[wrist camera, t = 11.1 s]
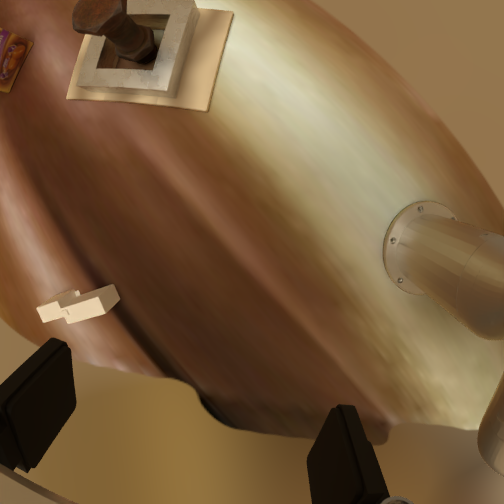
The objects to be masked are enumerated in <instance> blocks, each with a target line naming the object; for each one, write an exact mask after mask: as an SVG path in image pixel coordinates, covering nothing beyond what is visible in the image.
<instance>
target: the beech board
mask: <svg viewBox="0 0 504 504" xmlns="http://www.w3.org/2000/svg"><path fill="white" fill-rule="evenodd" d="M198 11H199V13H200V16H199V19H198V22H197V25H196V28H195V32H194V35H193V38H192V41H191V45H190V48H189V52H188V55H187V59H186V62H185V66H184V69H183V73H182V77H181V80H180V84H179V88H178V92H177V96H176V99H175V98H166V97H157V96H146V95H134V94H120V93H100V92H90V91H87V90H85V89H82V88H80V87H77V86H76V84H77V81H78V77H79V74H80V70H81V67H82V63H83V60H84V57H85V54H86V51H87V48H88V45H89V42H90V39H91V36H92V35H89V34H85V37H84V40H83V43H82V46H81V49H80V52H79V55H78V58H77V61H76V64H75V68H74V71H73V75H72V78H71V82H70V86H69V89H68V93H67V97H66V99H68V100H88V101H108V102H122V103H135V104H145V105H155V106H164V107H172V108H180V109H187V110H194V111H201V112H208V109H209V105H210V101H211V97H212V93H213V89H214V85H215V81H216V77H217V73H218V69H219V65H220V61H221V58H222V54H223V50H224V47H225V43H226V39H227V36H228V32H229V29H230V26H231V22H232V19H233V15H234V14H233V12H232V11H224V10H214V9H202V8H198ZM147 27H149V28H151V29H159V30H165V29H166V27H152V26H147ZM118 59H119V57H118V56H117V55H116V57H115V60H114V64H113V67H112V69H116V66H117V62H118Z"/></svg>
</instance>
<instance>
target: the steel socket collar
mask: <svg viewBox="0 0 504 504" xmlns="http://www.w3.org/2000/svg"><path fill="white" fill-rule="evenodd" d="M127 14H128V15H129V16H130V18H132V20H133V21H134V22H135V23H136V24H138V25H143V26H152V27H166V29H165V32H164V35H163V38H162V41H161V44H160V48H159V51H158V54H157V57H156V61H155V64H154V68H153V70H136V69H112V67H113V64H114V60H115V57H116V51H115V44H114V43H113V42H111V41H110V40H109V39H108V38H106V37H105V36H104V35H103V36H102V37H100V36H94V35H92V36H91V39H90V42H89V45H88V48H87V51H86V54H85V57H84V60H83V63H82V67H81V70H80V74H79V77H78V81H77V84H76V86H77V87H80V88H82V89H85V90H87V91H90V92H100V93H120V94H134V95H146V96H157V97H166V98H175V99H176V96H177V92H178V88H179V84H180V80H181V77H182V73H183V69H184V66H185V62H186V59H187V55H188V52H189V48H190V45H191V41H192V38H193V35H194V32H195V28H196V25H197V22H198V19H199V16H200V13H199V11H198V8H197V6H196V3H195V1H194V0H127Z"/></svg>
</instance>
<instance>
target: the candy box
mask: <svg viewBox="0 0 504 504" xmlns="http://www.w3.org/2000/svg"><path fill="white" fill-rule="evenodd" d="M32 45H33V43H32V42H30V41H28V40H26V39H24V38H22V37H20V36H18V35H15V34H13V33H11V32H9V31H7V30H4V29H2V28H0V91H2V92H5V93H9V92H10V90H11V87H12V85H13V83H14V80H15V78H16V76H17V74H18V72H19V70H20V68H21V66H22V64H23V62H24V60H25V58H26V56H27V54H28V52H29V50H30V49H31V47H32Z"/></svg>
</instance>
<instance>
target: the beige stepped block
mask: <svg viewBox="0 0 504 504" xmlns="http://www.w3.org/2000/svg"><path fill="white" fill-rule="evenodd" d="M119 300H120V297H119V295H118V293H117V291H116V288H115V286H114V284H112V285H109V286H106V287H103V288H100V289H97V290H94V291H91V292H88V293H85V294H82V295H81V294H80V292H79V290H77V291H75V289H72V290H69V291H67V292H64V293H61V294H58V295H55V296H53V297H52V298H50V299H49V300H47V301H46V302H44V303H43V304H41V305H40V306H39V307H37V310H38V312H39V315H40V317H41V319H42V321H43V323H45V322H48V321H51V320H55V319H58V318H62V317H65V319H66V321H67V323H68V324H70V323H74V322H78V321H81V320H85V319H88V318H92V317H95V316H99V315H102V314H106V313H107V312H108V311H109V310H110V309H111V308H112V307H113V306H114V305H115V304H116V303H117V302H118V301H119Z"/></svg>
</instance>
